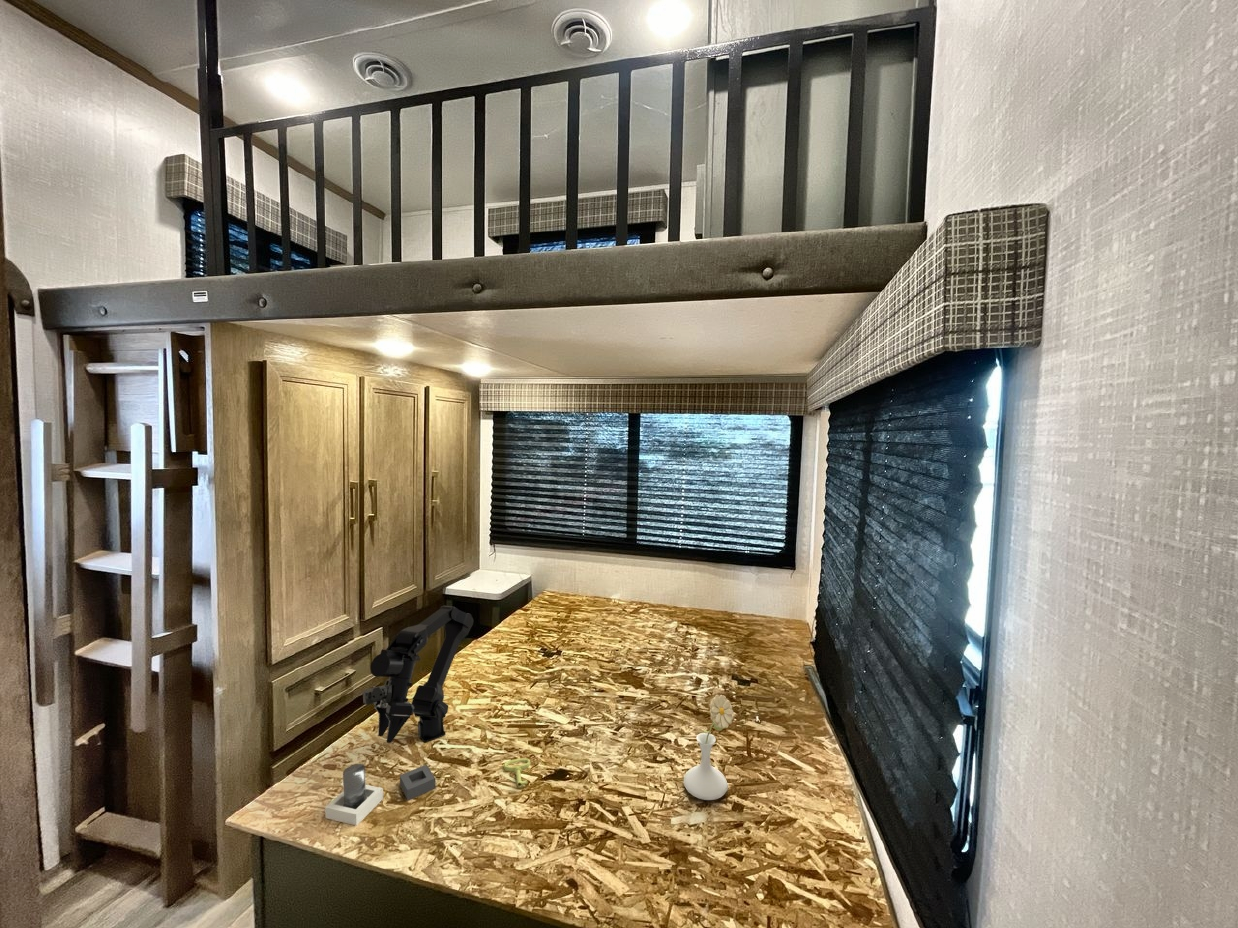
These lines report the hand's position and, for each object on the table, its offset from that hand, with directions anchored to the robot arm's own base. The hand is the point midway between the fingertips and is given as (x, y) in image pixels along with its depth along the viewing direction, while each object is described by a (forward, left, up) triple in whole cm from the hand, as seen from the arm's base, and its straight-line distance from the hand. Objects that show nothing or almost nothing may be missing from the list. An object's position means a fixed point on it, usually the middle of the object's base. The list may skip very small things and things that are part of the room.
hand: (384, 739), depth 136 cm
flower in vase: (-65, +57, -11) cm, 87 cm away
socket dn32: (-6, +9, -11) cm, 15 cm away
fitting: (+9, +7, -10) cm, 15 cm away
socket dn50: (+9, +7, -11) cm, 16 cm away
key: (-29, +21, -11) cm, 37 cm away
